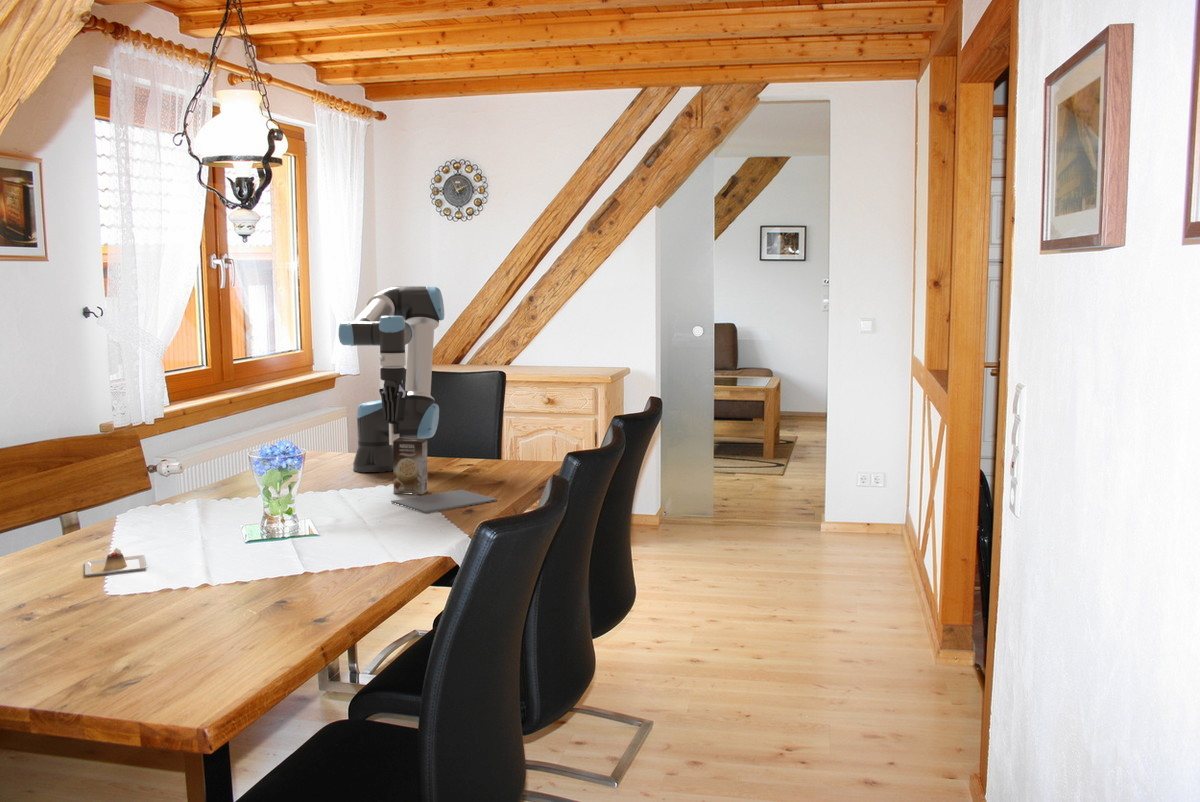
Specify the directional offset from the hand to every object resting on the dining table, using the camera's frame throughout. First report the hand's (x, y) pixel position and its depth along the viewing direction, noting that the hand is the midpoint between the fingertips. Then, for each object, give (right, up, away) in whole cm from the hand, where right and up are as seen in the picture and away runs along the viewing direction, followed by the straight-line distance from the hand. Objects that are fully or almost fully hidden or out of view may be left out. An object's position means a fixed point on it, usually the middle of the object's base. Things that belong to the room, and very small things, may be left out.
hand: (394, 444), depth 301 cm
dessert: (-43, -24, -84) cm, 98 cm away
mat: (+18, -16, -18) cm, 30 cm away
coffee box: (+6, -14, -5) cm, 16 cm away
